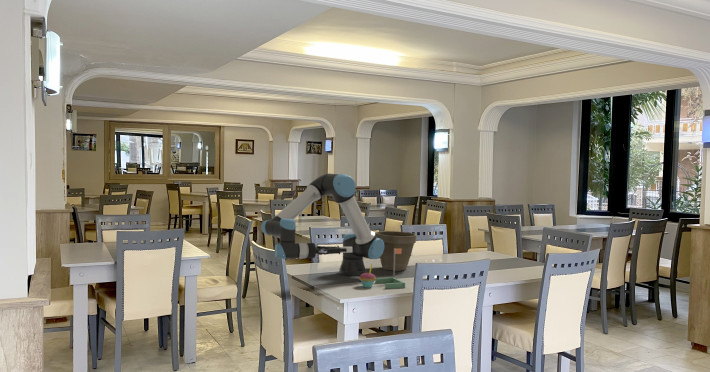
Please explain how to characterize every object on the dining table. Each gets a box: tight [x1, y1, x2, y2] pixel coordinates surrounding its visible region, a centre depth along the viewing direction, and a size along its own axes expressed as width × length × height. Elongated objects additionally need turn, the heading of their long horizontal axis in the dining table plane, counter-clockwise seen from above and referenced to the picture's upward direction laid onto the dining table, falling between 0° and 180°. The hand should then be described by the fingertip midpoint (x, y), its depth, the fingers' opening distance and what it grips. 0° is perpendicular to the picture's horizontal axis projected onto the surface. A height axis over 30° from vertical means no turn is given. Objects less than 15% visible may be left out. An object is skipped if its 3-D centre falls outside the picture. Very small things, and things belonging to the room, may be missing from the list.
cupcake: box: [358, 263, 377, 288], centre depth 287 cm, size 9×8×12 cm
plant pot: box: [374, 230, 417, 272], centre depth 339 cm, size 25×25×22 cm
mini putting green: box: [374, 248, 406, 290], centre depth 292 cm, size 15×16×18 cm
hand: (351, 249), depth 283 cm, fingers closed
